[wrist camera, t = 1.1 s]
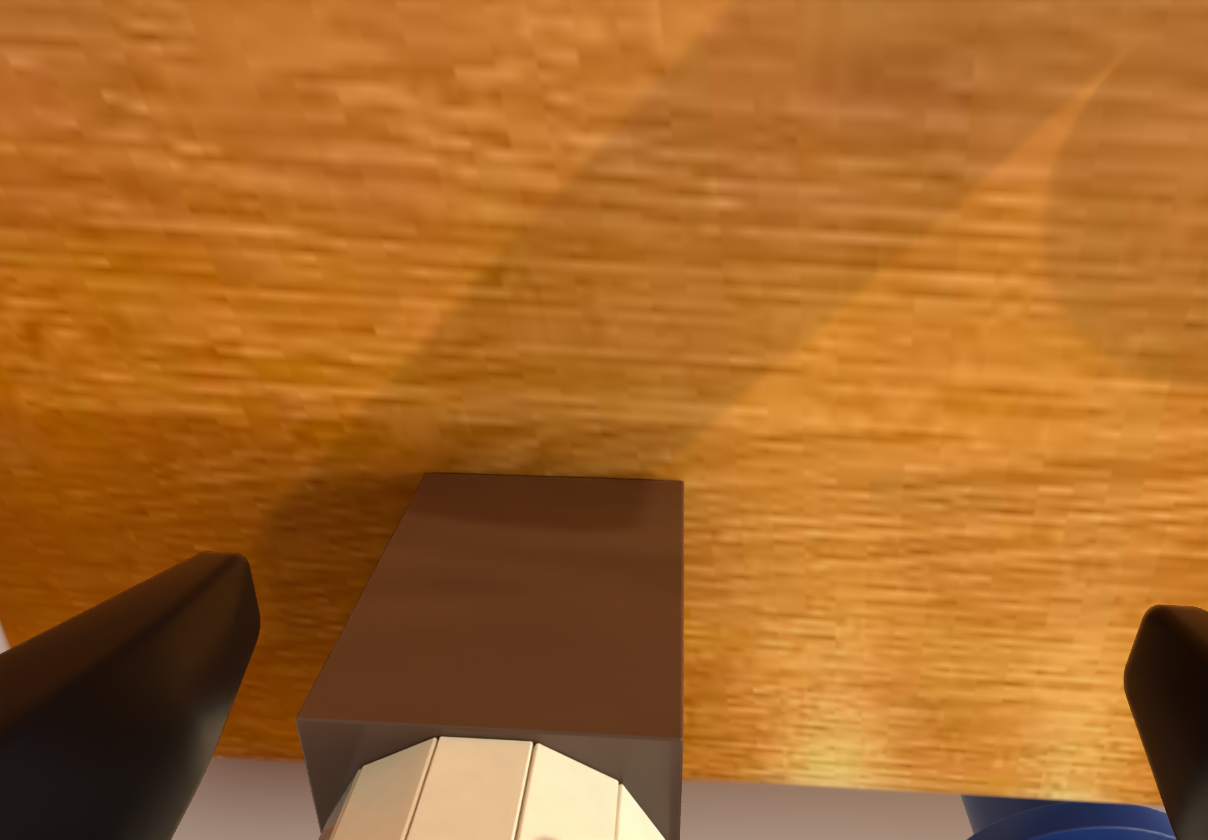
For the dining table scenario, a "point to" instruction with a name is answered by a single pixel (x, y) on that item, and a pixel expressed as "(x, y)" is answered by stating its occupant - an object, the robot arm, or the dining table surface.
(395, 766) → the cream cup
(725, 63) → the dining table surface
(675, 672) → the stand
